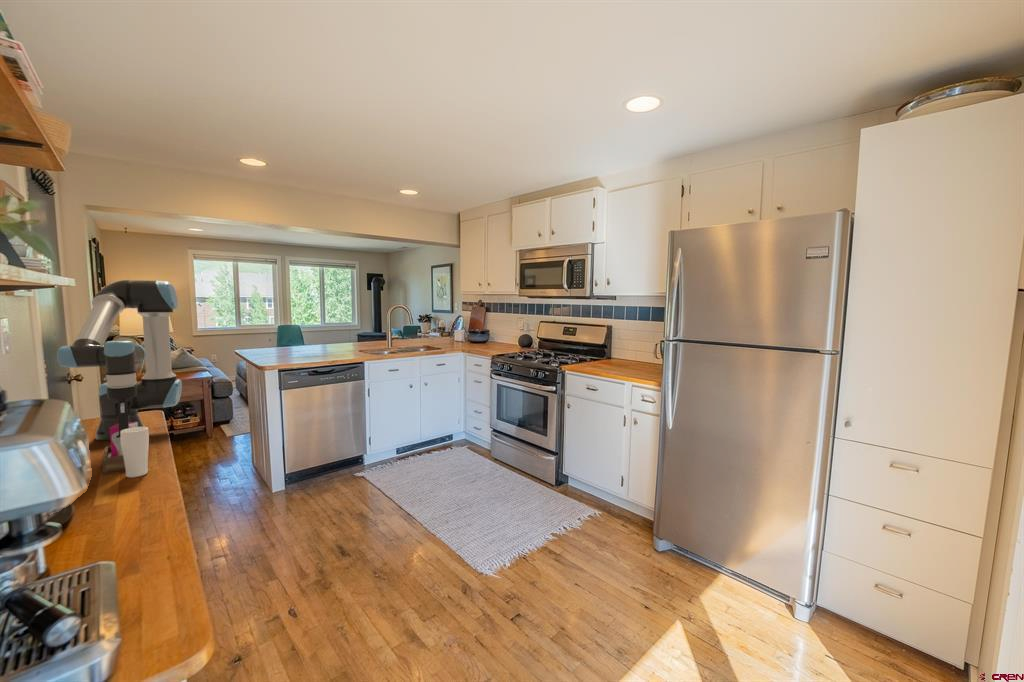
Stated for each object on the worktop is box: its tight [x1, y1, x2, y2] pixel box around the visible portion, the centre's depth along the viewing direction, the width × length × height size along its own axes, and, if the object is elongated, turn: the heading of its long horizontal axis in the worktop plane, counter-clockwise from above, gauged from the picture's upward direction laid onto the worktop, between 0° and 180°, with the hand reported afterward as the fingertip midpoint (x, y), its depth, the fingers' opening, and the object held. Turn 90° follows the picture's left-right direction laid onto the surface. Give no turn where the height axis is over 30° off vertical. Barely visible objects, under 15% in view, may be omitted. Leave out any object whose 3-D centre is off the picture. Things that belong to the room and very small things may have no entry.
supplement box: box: [110, 422, 138, 457], centre depth 147 cm, size 6×6×12 cm
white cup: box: [120, 426, 150, 479], centre depth 137 cm, size 7×7×15 cm
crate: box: [101, 445, 126, 475], centre depth 147 cm, size 16×11×5 cm
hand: (125, 452), depth 147 cm, fingers closed on supplement box, 7 cm apart
